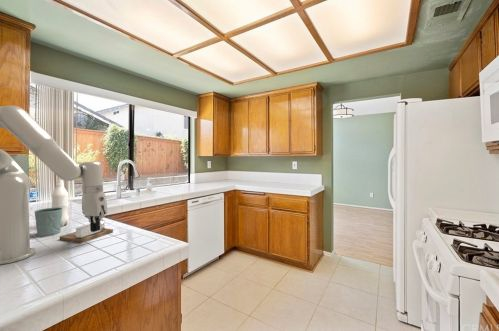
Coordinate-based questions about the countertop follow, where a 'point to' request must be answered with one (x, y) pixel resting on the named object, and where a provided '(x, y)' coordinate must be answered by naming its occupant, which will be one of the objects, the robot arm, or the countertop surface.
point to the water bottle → (61, 201)
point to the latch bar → (88, 230)
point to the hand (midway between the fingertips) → (95, 230)
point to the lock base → (73, 238)
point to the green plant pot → (48, 221)
